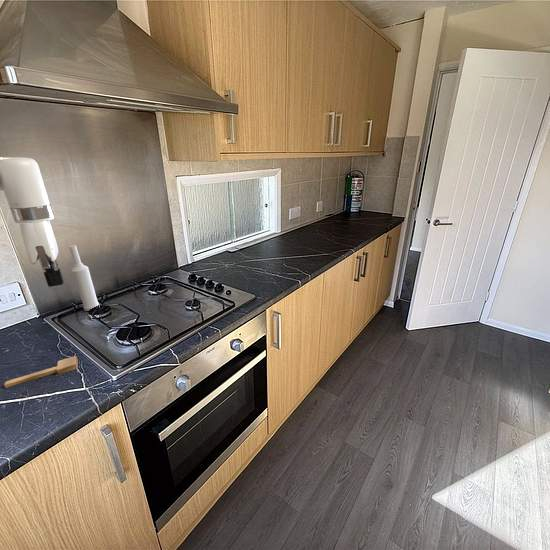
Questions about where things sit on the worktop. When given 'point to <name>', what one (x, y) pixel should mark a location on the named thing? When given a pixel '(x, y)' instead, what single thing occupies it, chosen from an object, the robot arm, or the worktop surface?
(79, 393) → the worktop surface
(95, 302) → the bottle
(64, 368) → the wooden spatula
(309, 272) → the worktop surface
